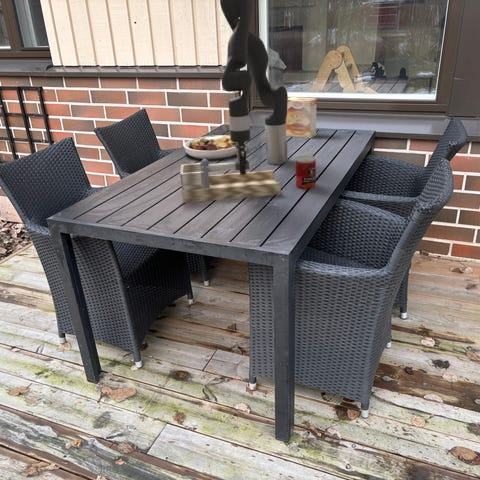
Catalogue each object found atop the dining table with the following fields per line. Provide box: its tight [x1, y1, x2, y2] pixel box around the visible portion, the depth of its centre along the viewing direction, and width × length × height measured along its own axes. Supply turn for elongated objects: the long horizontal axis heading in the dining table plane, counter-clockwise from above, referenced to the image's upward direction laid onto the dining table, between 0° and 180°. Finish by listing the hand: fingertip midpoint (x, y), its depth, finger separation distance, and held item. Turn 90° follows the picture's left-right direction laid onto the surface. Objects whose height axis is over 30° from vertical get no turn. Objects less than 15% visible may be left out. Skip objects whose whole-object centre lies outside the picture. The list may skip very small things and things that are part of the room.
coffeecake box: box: [286, 96, 317, 139], centre depth 253 cm, size 15×7×20 cm, turn 55°
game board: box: [179, 162, 282, 204], centre depth 183 cm, size 36×16×10 cm, turn 95°
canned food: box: [295, 155, 317, 190], centre depth 184 cm, size 8×8×11 cm
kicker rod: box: [200, 159, 251, 189], centre depth 182 cm, size 18×4×11 cm, turn 95°
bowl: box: [183, 134, 246, 160], centre depth 237 cm, size 30×30×8 cm
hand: (242, 172), depth 183 cm, fingers closed on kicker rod, 3 cm apart
